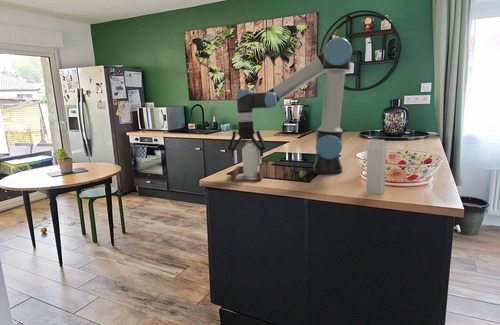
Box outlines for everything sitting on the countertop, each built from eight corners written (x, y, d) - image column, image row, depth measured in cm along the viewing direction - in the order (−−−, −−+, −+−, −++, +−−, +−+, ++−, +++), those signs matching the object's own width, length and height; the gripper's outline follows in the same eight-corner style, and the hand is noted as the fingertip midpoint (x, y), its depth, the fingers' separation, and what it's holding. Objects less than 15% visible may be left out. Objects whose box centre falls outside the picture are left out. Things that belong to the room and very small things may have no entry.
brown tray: (265, 174, 169) (265, 166, 168) (260, 181, 156) (260, 172, 155) (238, 174, 172) (237, 166, 171) (231, 181, 159) (230, 172, 158)
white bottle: (258, 177, 158) (256, 142, 154) (242, 177, 160) (239, 142, 156) (260, 173, 166) (259, 139, 162) (245, 173, 168) (243, 140, 164)
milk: (370, 188, 136) (371, 138, 132) (384, 190, 133) (387, 138, 128) (365, 192, 132) (367, 140, 127) (381, 194, 128) (383, 140, 123)
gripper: (270, 119, 158) (272, 161, 163) (224, 121, 163) (227, 161, 168) (268, 120, 151) (270, 164, 155) (220, 122, 156) (223, 164, 161)
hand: (247, 163), depth 162 cm, fingers open, 12 cm apart
